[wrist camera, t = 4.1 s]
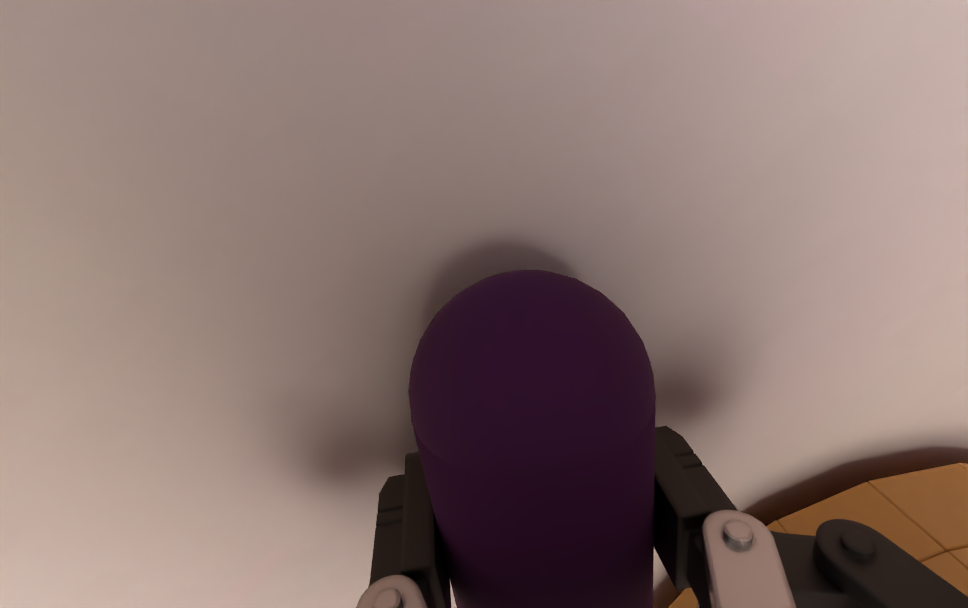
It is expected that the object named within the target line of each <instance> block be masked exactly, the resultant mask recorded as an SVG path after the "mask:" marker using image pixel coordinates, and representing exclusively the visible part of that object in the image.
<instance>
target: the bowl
mask: <svg viewBox="0 0 968 608" xmlns="http://www.w3.org/2000/svg"><path fill="white" fill-rule="evenodd" d="M832 519H846V520H852V521H856V522H859V523H862V524H864V525H867V526H869V527H871V528H873V529H874V530H876V531H878V532H879V533H881V534H882V535H884V536H885V537H886V538H888V539H889V540H890V541H892V542H893V543H895V544H896V545H897V546H899V547H900V548H901V549H903V550H904V551H906V552H907V553H908V554H910V555H911V556H912V557H914V558H915V559H917V560H918V561H919V562H921V563H922V564H924V565H925V566H926V567H928V568H929V569H930V570H932V571H933V572H935V573H936V574H937V575H939V576H940V577H941V578H943V579H944V580H946V581H947V582H948V583H950V584H951V585H952V586H954V587H955V588H957V589H958V590H959V591H961V592H962V593H963V594H965V595H966V596H968V463H957V464H950V465H945V466H940V467H935V468H930V469H925V470H920V471H915V472H910V473H905V474H900V475H895V476H890V477H885V478H880V479H875V480H870V481H868V482H864V483H862V484H859V485H857V486H855V487H852V488H850V489H848V490H845V491H843V492H841V493H838V494H836V495H834V496H832V497H829V498H827V499H825V500H822V501H820V502H818V503H815V504H813V505H811V506H808V507H806V508H804V509H801V510H799V511H797V512H794V513H792V514H790V515H787V516H785V517H783V518H780V519H779V520H778V521H777V520H775V521H774V522H772V523H771V524H769V525H768V526H766V527H767V528H768V529H769V530H771V531H775V532H780V533H789V534H800V535H811V536H816V531H817V529H818V527H819V526H820V525H821V524H822V523H823V522H825V521H828V520H832ZM697 601H698V600H697V598H696V596H695V594H694V593H693V591H692V589H691V588H686V589H685V590H684V591H683V592H682V593H681V594H680V595H679V596H678V597H677V599H676V600H675V601H674V602H673V603H672V604H671V605H670V606H669V607H668V608H697Z"/></svg>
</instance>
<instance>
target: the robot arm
mask: <svg viewBox="0 0 968 608" xmlns="http://www.w3.org/2000/svg"><path fill="white" fill-rule="evenodd" d="M654 547H655V549H656V551H657V553H658V555H659V557H660V559H661V561H662V563H663V565H664V567H665V569H666V571H667V573H668V575H669V577H670V579H671V581H672V583H673V585H674V587H675V589H676V590H681V589H686V588H691V589H692V591H693V593H694V594H695V596H696V598H697V600H698V601H697V608H968V596H966V595H965V594H963V593H962V592H961V591H959V590H958V589H957V588H955V587H954V586H952V585H951V584H950V583H948V582H947V581H946V580H944V579H943V578H941V577H940V576H939V575H937V574H936V573H935V572H933V571H932V570H930V569H929V568H928V567H926V566H925V565H924V564H922V563H921V562H919V561H918V560H917V559H915V558H914V557H912V556H911V555H910V554H908V553H907V552H906V551H904V550H903V549H901V548H900V547H899V546H897V545H896V544H895V543H893V542H892V541H890V540H889V539H888V538H886V537H885V536H884V535H882V534H881V533H879V532H878V531H876V530H874V529H873V528H871V527H869V526H867V525H864V524H862V523H859V522H856V521H852V520H846V519H832V520H828V521H825V522H823V523H822V524H821V525H820V526H819V527H818V529H817V531H816V536H811V535H800V534H789V533H780V532H775V531H771V530H769V529H768V528H767V527H766V526H765V525H764V524H763V523H762V522H760V521H759V520H757V519H756V518H754V517H752V516H751V515H748V514H746V513H743V512H740V511H738V510H737V509H736V508H735V506H734V505H733V504H732V502H731V501H730V500H729V498H728V497H727V496H726V494H725V493H724V492H723V490H722V489H721V488H720V486H719V485H718V484H717V482H716V481H715V479H714V478H713V477H712V475H711V474H710V473H709V471H708V470H707V469H706V467H705V466H703V465H702V462H701V461H700V459H699V458H698V457H697V455H696V454H694V453H693V450H692V449H691V447H690V446H689V445H688V443H687V442H686V441H685V439H684V438H683V437H682V436H681V435H679V434H678V433H676V432H675V431H673V430H672V429H670V428H669V427H667V426H662V427H657V428H655V474H654ZM356 608H451V595H450V577H449V573H448V569H447V564H446V560H445V556H444V552H443V548H442V544H441V540H440V536H439V532H438V527H437V523H436V519H435V515H434V511H433V507H432V503H431V499H430V495H429V491H428V487H427V483H426V478H425V474H424V470H423V466H422V462H421V458H420V454H419V451H418V452H413V453H408V454H406V456H405V474H403V475H398V476H392V477H389V478H388V479H387V481H386V483H385V485H384V486H383V488H382V490H381V492H380V493H379V502H378V514H377V521H376V530H375V540H374V549H373V558H372V568H371V577H370V583H369V587H368V589H367V590H366V591H365V592H364V593H363V595H362V596H361V598H360V599H359V601H358V604H357V607H356Z"/></svg>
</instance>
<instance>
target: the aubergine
mask: <svg viewBox="0 0 968 608" xmlns="http://www.w3.org/2000/svg"><path fill="white" fill-rule="evenodd" d="M408 393H409V401H410V409H411V421H412V425H413V429H414V433H415V437H416V442H417V446H418V450H419V454H420V458H421V462H422V466H423V470H424V474H425V478H426V483H427V487H428V491H429V495H430V499H431V503H432V507H433V511H434V515H435V519H436V523H437V527H438V532H439V536H440V540H441V544H442V548H443V552H444V556H445V560H446V564H447V569H448V573H449V577H450V581H451V585H452V589H453V593H454V598H455V602H456V606H457V608H653V547H654V474H655V400H656V395H655V387H654V378H653V372H652V368H651V363H650V360H649V357H648V354H647V352H646V349H645V346H644V344H643V341H642V340H641V338H640V336H639V335H638V333H637V332H636V330H635V329H634V327H633V326H632V324H631V323H630V321H629V320H628V318H627V317H626V315H625V314H624V313H623V312H622V311H621V310H620V309H619V308H618V307H617V306H616V305H615V304H614V303H612V302H611V301H610V300H609V299H608V298H607V297H606V296H605V295H603V294H602V293H601V292H599V291H597V290H595V289H594V288H592V287H590V286H588V285H586V284H585V283H583V282H581V281H579V280H577V279H575V278H571V277H568V276H565V275H561V274H556V273H552V272H547V271H539V270H520V271H512V272H506V273H501V274H497V275H494V276H491V277H488V278H486V279H484V280H482V281H480V282H478V283H476V284H474V285H472V286H470V287H468V288H466V289H464V290H463V291H461V292H460V293H458V294H457V295H456V296H455V297H454V298H453V299H452V300H450V301H449V302H448V303H447V304H446V305H445V306H444V307H443V308H442V309H441V310H440V311H439V312H438V313H437V314H436V316H435V317H434V319H433V320H432V322H431V323H430V325H429V326H428V328H427V329H426V331H425V333H424V334H423V336H422V338H421V339H420V342H419V345H418V347H417V350H416V353H415V356H414V358H413V363H412V367H411V373H410V382H409V390H408Z"/></svg>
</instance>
